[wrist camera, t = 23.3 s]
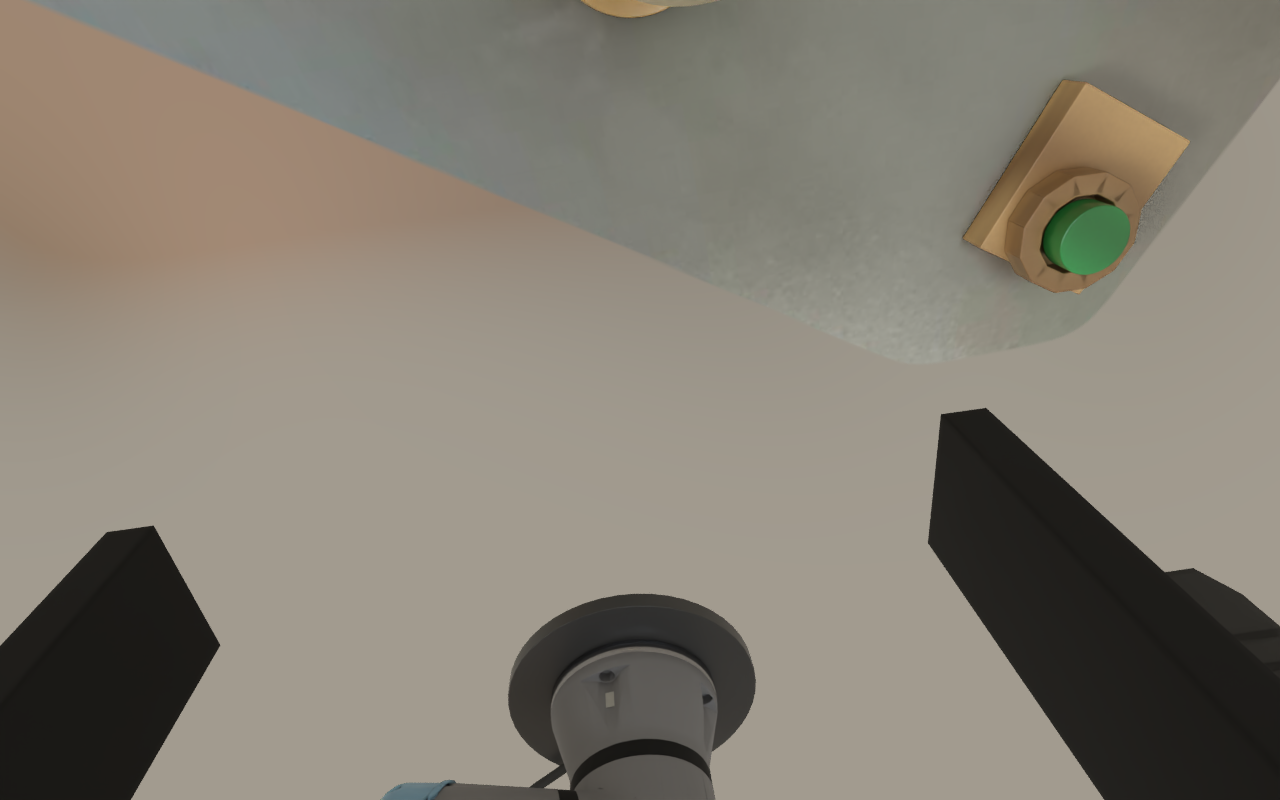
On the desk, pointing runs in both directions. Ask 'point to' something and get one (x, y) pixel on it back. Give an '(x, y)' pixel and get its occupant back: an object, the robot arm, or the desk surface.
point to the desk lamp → (638, 6)
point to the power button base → (1073, 178)
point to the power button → (1086, 236)
